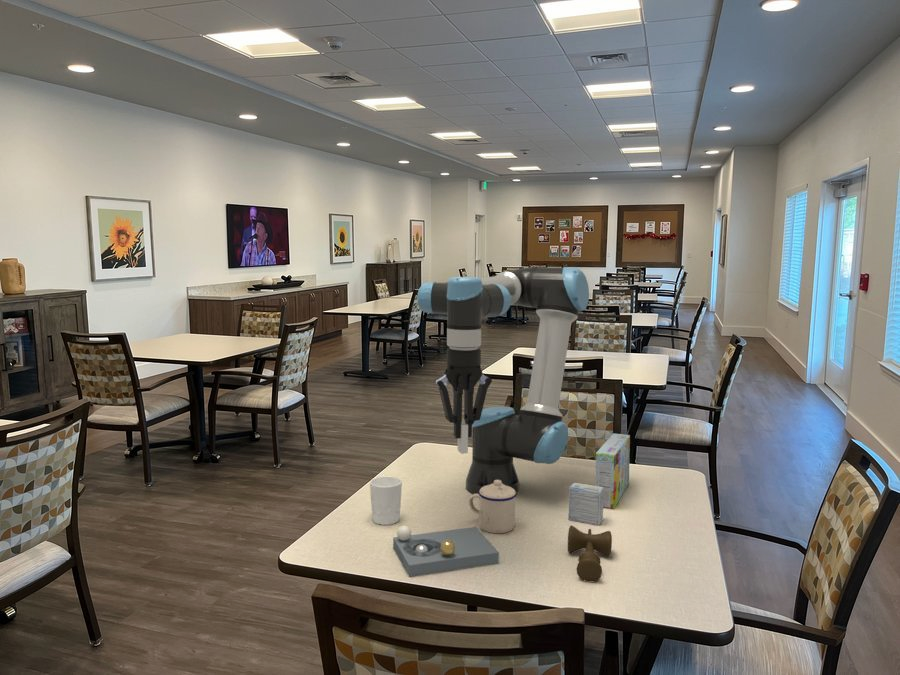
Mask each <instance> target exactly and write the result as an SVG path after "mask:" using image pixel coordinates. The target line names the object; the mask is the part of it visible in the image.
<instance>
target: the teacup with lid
mask: <svg viewBox="0 0 900 675" xmlns="http://www.w3.org/2000/svg"><path fill="white" fill-rule="evenodd" d="M516 496H517V492H515V490H514V489H513V488H511V487H509V486H506V485H504V484H502V481H501V480H494V483H493V484H490V485H487V486H484V487H482V488H481V489H480V491H479V494H473V493H472V494H471V496H469V499H468V503H469V507H470V510H471V511H472V512H473V513H475V514H477V515H479V516H478V517H479V520H478V522H479V524H478V525H479V528H480V529H482V530H483V531H485V532H488V533H490V534H491V533H492V534H504V533H510V532H511V531H512V530H514V528H515V519H516V518H515V517H516V515H515V514H516V511H515V510H516ZM474 498H479V509H477V508H476V507H475V505H474V502H473V500H474Z"/></svg>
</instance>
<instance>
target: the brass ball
mask: <svg viewBox="0 0 900 675" xmlns="http://www.w3.org/2000/svg"><path fill="white" fill-rule="evenodd" d="M440 550H441V553H442V554H443V555H445V556H450V555H452V554H453V553H454V551H455V545H454V543H453V542H452V541H450V540H446V541H444V542H442V544H441V546H440Z"/></svg>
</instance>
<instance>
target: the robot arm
mask: <svg viewBox="0 0 900 675" xmlns="http://www.w3.org/2000/svg"><path fill="white" fill-rule="evenodd" d="M589 289H590V287H589V283H588V280H587V276H586V274H585V273H584V272H583V271H582V270H581V269H579V268H577V267H576V268H575V267H567V266H564V267H563V266H562V267H560V266H559V267H555V266H554V267H553V266H552V267H549V266H548V267H546V266H545V267H543V266H529V267H528V266H527V267H522V268H517V269H516V268H515V269H512V270H507V271H501V272H499V273H497V274H496V275H495V276H487V277H476V276H451V277H450V278H449V279H448V280H447V282H446V281H445V282H436V281H433V282H425V283H423V284H422V285H421V286H420V287H419V289H418V291H417V305H418V308H419V309H420V310H421V311H422V312H423V313H426V314H433V315H435V314H437V315H446V316H447V318H446V319H447V322H446V323H447V324H446V327H447V328H446V345H447V346H448V348H447V349H446V369H445V371H444V374H443V376H442V377H441V376H440V378H436V379H435V380H434V383H435V386H437V388H438V390H439V395H440V396H439V397H440V400H441V403H442V404H441V405H442V408H443V412H444V417H445V419H446V420H447V422H449V423H452V424H453V436H454V438H455V439H457V451H458V452H459V453H460V454H462V455H464V454H468V453H469V438H472V446H471V448H472V449H471V450H472V456H471V457H472V460H471V464H470V466H469V467H470V468H469V470H468V472H467V475H466V479H465V489H466V490H467V491H468V492H469V493H471V494H472V495H473V494H479V491H480V489H481V488H482V487H484V486H487V485H490V484H493V483H494V480H501V481H502V484H504V485H506V486H509V487H511V488H513V489H514V490H515V492H516V493H517V492H518V491H519V489H520V482H519V477H518V475H517V474H518V473H517V471H516V470H517V469H516V467H515V464H514V459H518V460H525V461H529V462H534V463H536V464H545V465H551V464H554V463H556V462H557V461H559V460H560V458H561V457H562V456H563V453H564V452H565V449H566V446H567V444H568V439H569V428H568V425H567V424H566V423H565V422H564V421H563V418H564V416H563V414H562V413H561V411H560V410H559V406H560V399H561V392H562V387H563V380H564V379H563V378H564V373H565V366H566V360H567V353H568V346H569V341H570V336H571V335H570V334H571V328H572V323H573V322H575V321H576V320H578V317H579V312H582V311H585V310H586V309H587V307H588V304H589V300H590V291H589ZM511 306H519V307H520V306H521V307H526V308H532V309H533V308H535V309H536V310H535V313H536V315H537V316H538V317H539V326H538V330H537V331H538V332H537V338H536V345H535V350H534V351H535V352H534V356H533V357H534V358H533V363H532V368H531V377H530V382H529V387H528V394H527V400H526V401H527V402H526V404H525V405H523V406H522V407H520V409H519V414H518V415H517V414H516V412H515V409H514V407H510V406H491V407H486V408H484V405H485V401H486V395H487V392H488V388H489V387H490V385H491V383H492V382H493V379H492V378H491V377H488V376H487V375H484V374H483V370H482V368H481V364H482V356H481V355H482V350H481V348H479V347H481V346H482V319H483V318H484V319H485V318H496V317H499V316H502V315H504V314H506V312H508V310H509V309H510V307H511ZM478 382H479V385H478V387H477V390H476V391H477V392H476V395H475V400H474V393H475V386H476V385H477V384H478ZM448 383H449V384H450V385H451V387H452V392H453V399H452V400H453V401H452V402H453V405H452V404H451V400H450V395H449V391H448V388H447V386H448ZM463 395H464V397H463ZM463 400H464V401H463ZM463 404H464V405H463ZM452 406H453V407H452ZM463 411H464V412H463ZM463 413H464V414H463ZM463 420H464V421H463Z"/></svg>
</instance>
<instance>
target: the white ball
mask: <svg viewBox="0 0 900 675" xmlns="http://www.w3.org/2000/svg"><path fill="white" fill-rule="evenodd" d="M396 535H397V536H396V537H398V538H399V539H400V540H402V541H405V540H408V539H409V538H410V536H411V535H412V530H411V528H410V527H409V526H406V525H401V526H400V527H399V528H398V529H397V530H396Z"/></svg>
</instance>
